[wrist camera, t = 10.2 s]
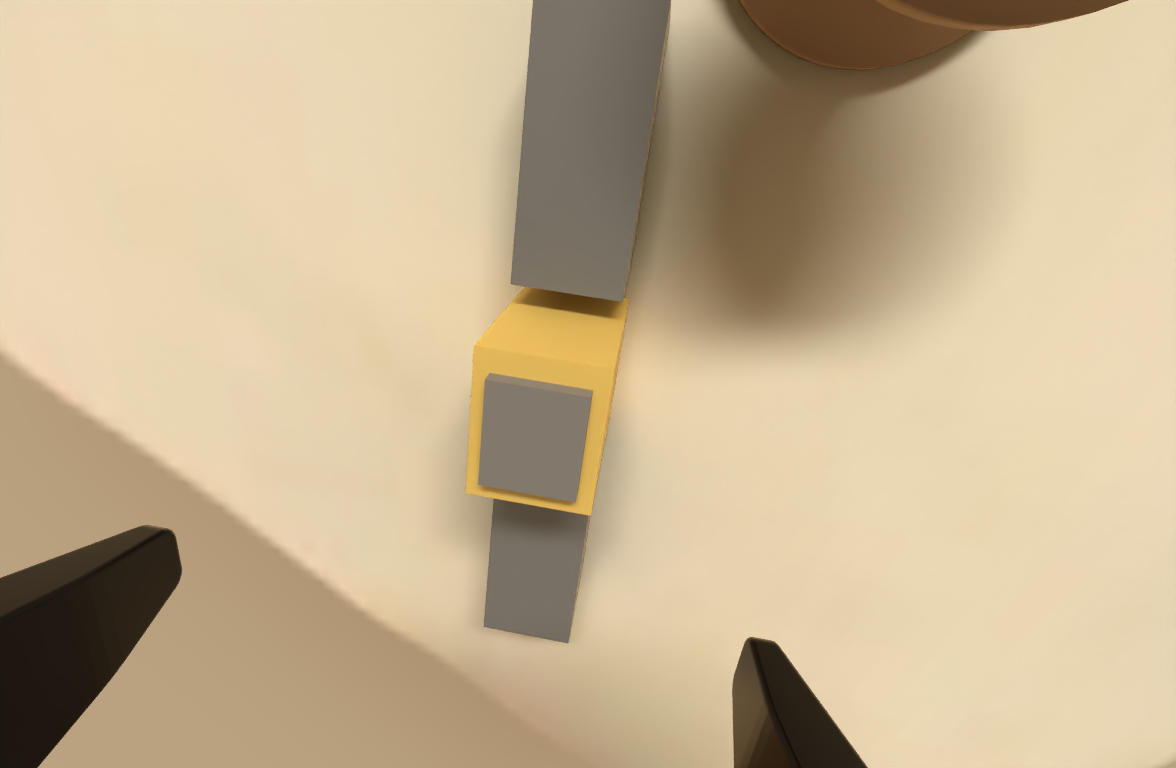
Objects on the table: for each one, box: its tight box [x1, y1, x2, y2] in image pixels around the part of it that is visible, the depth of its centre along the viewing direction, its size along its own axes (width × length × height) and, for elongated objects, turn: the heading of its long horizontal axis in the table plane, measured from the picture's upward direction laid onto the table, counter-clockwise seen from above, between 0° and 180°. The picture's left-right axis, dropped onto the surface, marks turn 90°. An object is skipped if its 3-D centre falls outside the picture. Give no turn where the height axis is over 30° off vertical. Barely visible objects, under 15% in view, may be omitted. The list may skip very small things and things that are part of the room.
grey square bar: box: [484, 0, 671, 643], centre depth 18 cm, size 19×3×3 cm, turn 173°
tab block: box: [466, 286, 629, 516], centre depth 17 cm, size 4×3×6 cm
